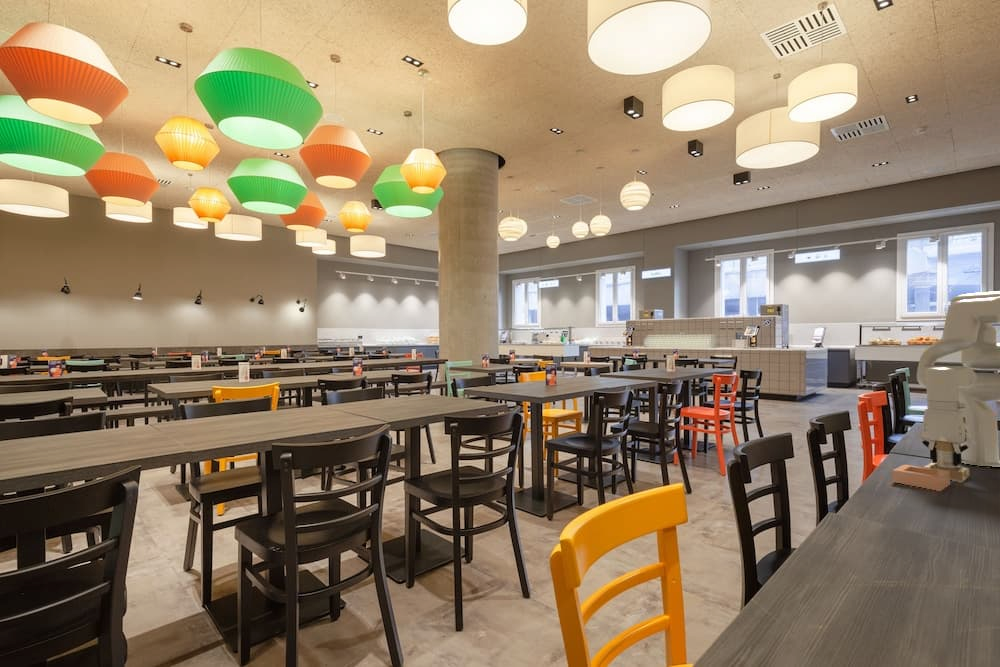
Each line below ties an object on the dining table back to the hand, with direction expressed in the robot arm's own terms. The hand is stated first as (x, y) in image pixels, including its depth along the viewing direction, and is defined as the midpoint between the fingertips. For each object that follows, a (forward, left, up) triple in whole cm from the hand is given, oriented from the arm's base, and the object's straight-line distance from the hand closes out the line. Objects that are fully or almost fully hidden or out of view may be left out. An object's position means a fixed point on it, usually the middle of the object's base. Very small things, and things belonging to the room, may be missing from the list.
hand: (945, 463), depth 151 cm
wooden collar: (0, 0, -4) cm, 4 cm away
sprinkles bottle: (0, 0, -5) cm, 5 cm away
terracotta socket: (+15, -2, -4) cm, 16 cm away
